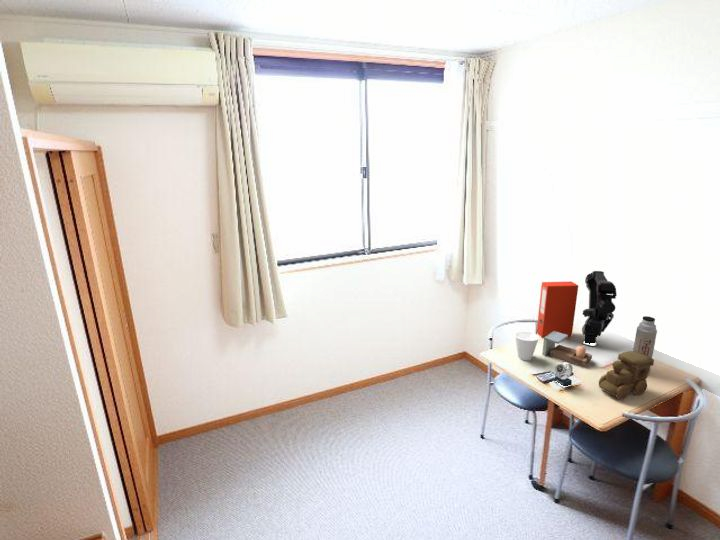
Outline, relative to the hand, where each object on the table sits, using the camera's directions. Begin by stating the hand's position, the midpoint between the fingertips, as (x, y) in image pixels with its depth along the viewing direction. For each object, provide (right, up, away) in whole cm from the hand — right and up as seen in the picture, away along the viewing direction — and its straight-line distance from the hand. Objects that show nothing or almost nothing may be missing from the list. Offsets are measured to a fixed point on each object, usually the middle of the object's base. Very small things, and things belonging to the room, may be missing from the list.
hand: (598, 334), depth 214 cm
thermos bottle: (+14, -16, -11) cm, 24 cm away
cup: (-36, -13, +5) cm, 39 cm away
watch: (-29, -20, -21) cm, 41 cm away
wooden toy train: (-5, -22, -27) cm, 35 cm away
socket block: (-13, -13, +2) cm, 19 cm away
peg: (-10, -14, -1) cm, 17 cm away
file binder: (-9, -5, +31) cm, 32 cm away
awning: (-19, -12, +9) cm, 24 cm away
